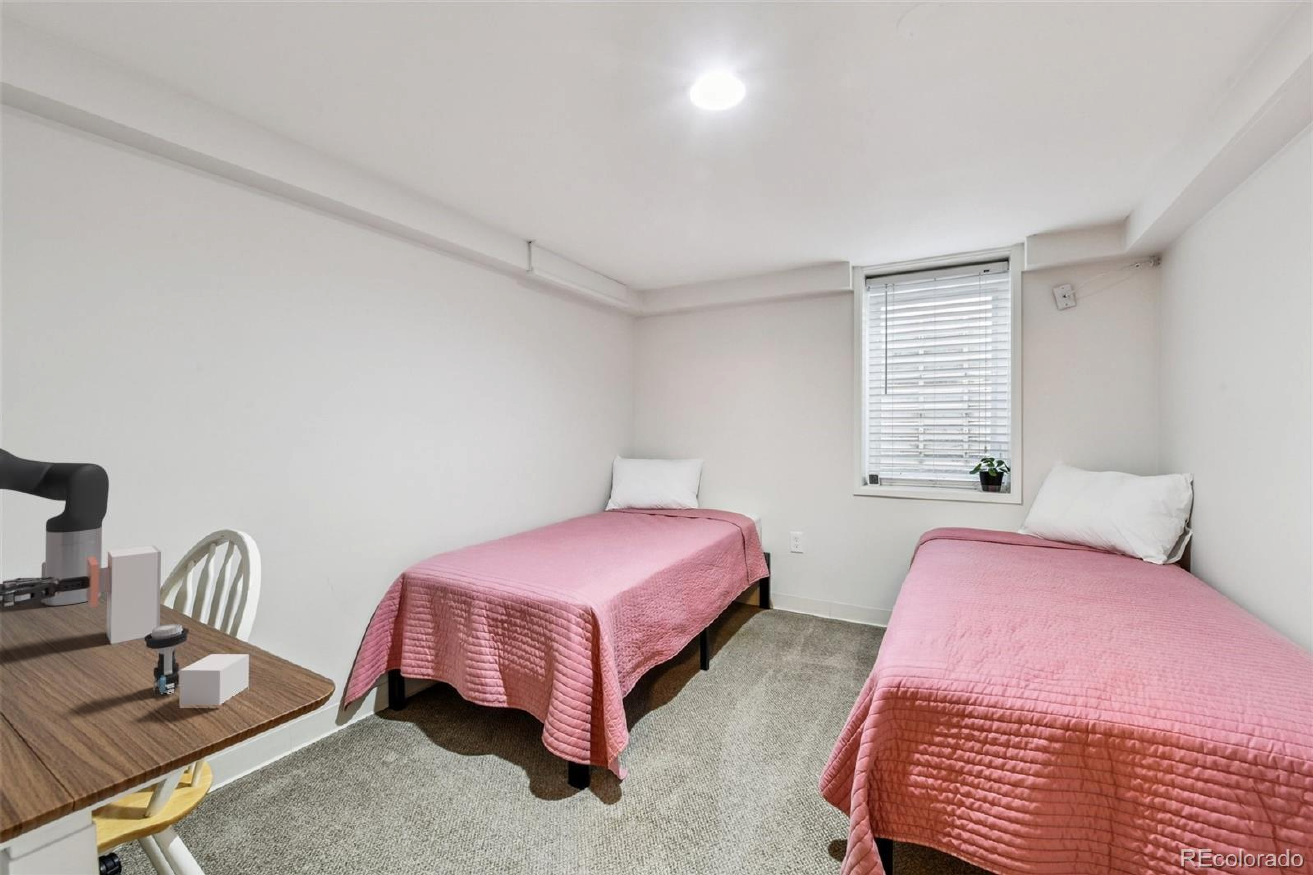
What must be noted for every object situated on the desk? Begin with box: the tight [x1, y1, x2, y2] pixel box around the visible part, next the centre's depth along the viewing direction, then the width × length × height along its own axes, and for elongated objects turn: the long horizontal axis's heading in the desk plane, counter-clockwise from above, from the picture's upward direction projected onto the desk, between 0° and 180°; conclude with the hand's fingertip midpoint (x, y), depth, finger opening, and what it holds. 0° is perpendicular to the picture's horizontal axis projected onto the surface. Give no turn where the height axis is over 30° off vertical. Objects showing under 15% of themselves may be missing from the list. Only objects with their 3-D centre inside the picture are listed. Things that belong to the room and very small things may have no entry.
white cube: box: [178, 653, 250, 706], centre depth 84 cm, size 6×6×6 cm
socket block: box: [106, 545, 162, 645], centre depth 109 cm, size 7×8×17 cm
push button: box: [143, 623, 190, 695], centre depth 87 cm, size 7×5×10 cm
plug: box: [86, 557, 111, 608], centre depth 107 cm, size 8×9×8 cm
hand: (88, 581), depth 105 cm, fingers closed
